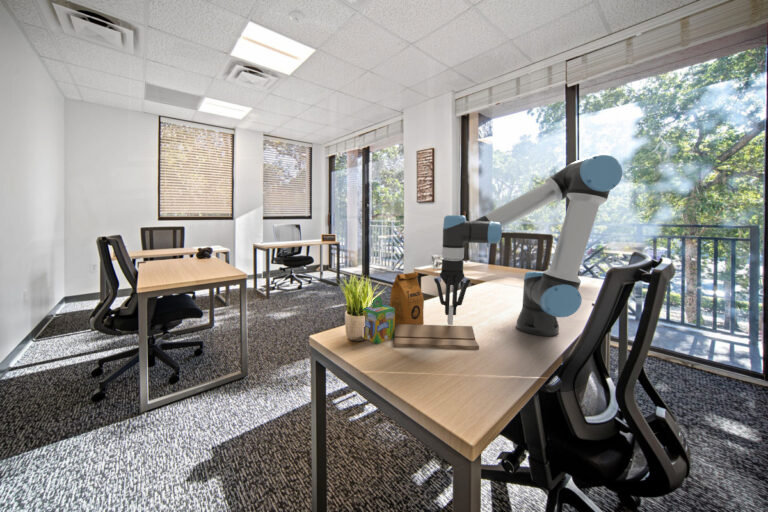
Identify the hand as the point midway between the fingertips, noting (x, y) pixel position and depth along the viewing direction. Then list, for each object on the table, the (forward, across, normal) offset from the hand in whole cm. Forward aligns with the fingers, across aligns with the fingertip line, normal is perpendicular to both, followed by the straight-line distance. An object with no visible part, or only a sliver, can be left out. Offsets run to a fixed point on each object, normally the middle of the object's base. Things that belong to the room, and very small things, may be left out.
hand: (449, 323), depth 115 cm
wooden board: (+5, +6, +6) cm, 10 cm away
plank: (+3, +6, +2) cm, 7 cm away
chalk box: (+6, +26, +2) cm, 27 cm away
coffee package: (+5, +15, -8) cm, 18 cm away
